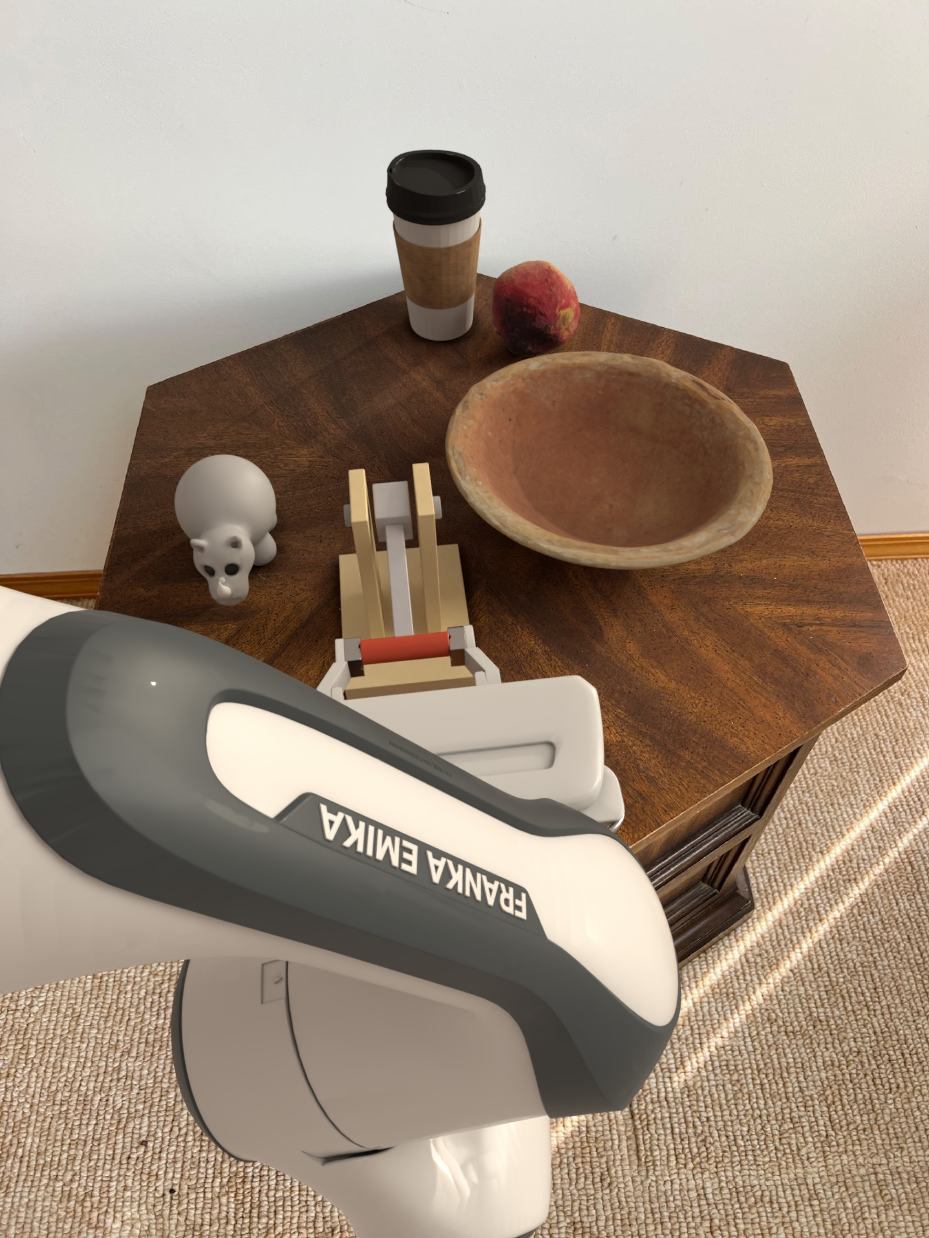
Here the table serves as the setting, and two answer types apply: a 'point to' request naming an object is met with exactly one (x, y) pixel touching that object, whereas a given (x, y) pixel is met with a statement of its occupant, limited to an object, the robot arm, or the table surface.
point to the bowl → (608, 460)
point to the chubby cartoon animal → (227, 522)
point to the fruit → (534, 308)
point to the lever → (399, 584)
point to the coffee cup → (437, 237)
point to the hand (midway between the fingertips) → (403, 637)
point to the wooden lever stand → (430, 594)
